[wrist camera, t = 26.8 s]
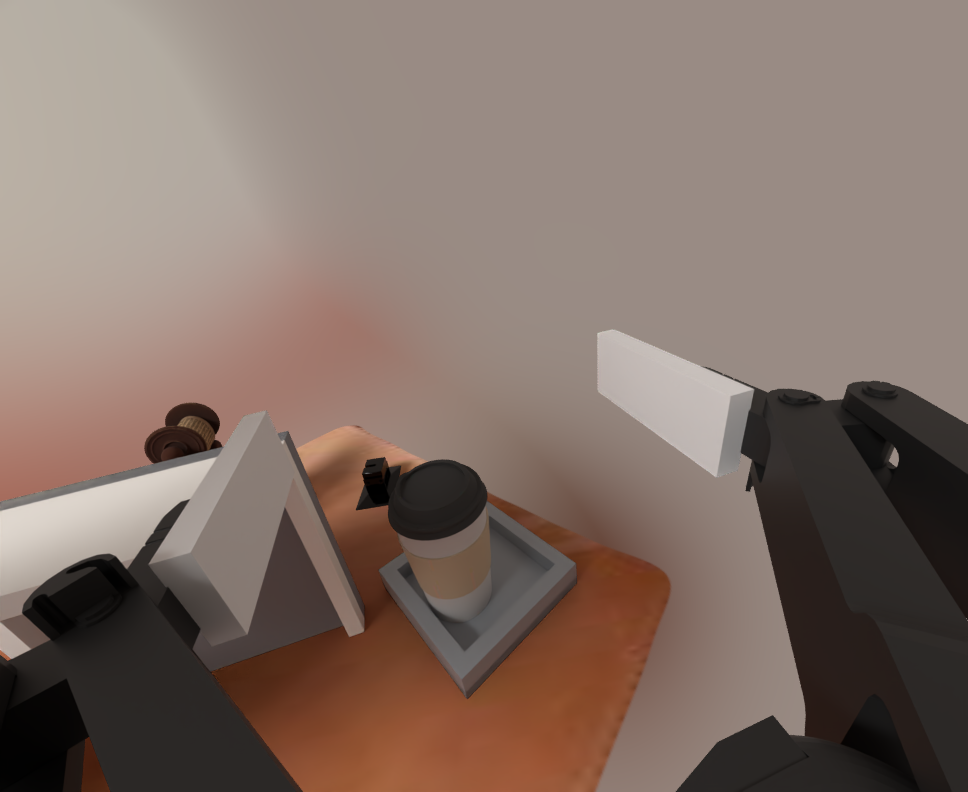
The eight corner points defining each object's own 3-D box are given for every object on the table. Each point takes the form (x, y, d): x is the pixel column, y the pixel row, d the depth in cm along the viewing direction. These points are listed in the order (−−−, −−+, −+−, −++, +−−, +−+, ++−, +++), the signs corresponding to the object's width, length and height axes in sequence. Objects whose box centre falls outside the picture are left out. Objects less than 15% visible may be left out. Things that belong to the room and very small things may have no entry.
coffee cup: (504, 553, 43) (486, 445, 37) (501, 633, 35) (478, 514, 29) (427, 556, 44) (397, 452, 38) (408, 634, 36) (365, 520, 30)
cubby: (22, 858, 27) (-321, 687, 17) (113, 690, 37) (-71, 519, 26) (363, 723, 31) (252, 524, 21) (364, 605, 41) (288, 430, 31)
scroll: (199, 523, 57) (126, 408, 48) (302, 488, 61) (251, 377, 52) (166, 605, 45) (58, 470, 36) (298, 555, 49) (230, 423, 40)
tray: (467, 699, 32) (461, 679, 30) (385, 588, 43) (378, 570, 41) (576, 583, 40) (576, 563, 39) (484, 514, 51) (481, 497, 49)
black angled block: (367, 467, 65) (360, 445, 63) (409, 461, 65) (403, 439, 63) (349, 520, 54) (339, 496, 52) (399, 513, 54) (392, 488, 52)
